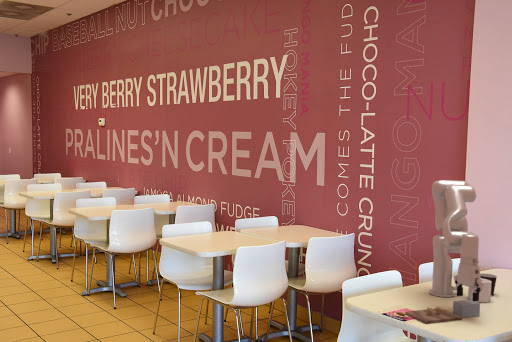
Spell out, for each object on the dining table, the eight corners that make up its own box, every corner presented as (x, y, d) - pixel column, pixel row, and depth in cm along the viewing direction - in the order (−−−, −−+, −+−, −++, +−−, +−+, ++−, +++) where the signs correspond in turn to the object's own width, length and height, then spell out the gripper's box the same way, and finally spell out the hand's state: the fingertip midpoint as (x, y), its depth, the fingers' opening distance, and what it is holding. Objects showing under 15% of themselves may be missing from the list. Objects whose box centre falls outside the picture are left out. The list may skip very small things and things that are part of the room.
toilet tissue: (487, 297, 272) (488, 278, 272) (493, 304, 260) (494, 284, 260) (466, 295, 274) (467, 276, 274) (470, 302, 263) (471, 282, 262)
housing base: (440, 310, 247) (440, 301, 246) (462, 319, 234) (462, 310, 233) (405, 314, 239) (405, 305, 239) (425, 324, 226) (426, 314, 226)
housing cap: (469, 312, 246) (470, 299, 245) (479, 316, 240) (480, 303, 240) (452, 314, 242) (453, 301, 242) (462, 318, 236) (463, 305, 236)
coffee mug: (496, 297, 274) (497, 278, 274) (478, 295, 277) (479, 276, 276) (494, 291, 285) (495, 273, 285) (477, 289, 288) (478, 271, 287)
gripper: (490, 264, 233) (488, 302, 233) (461, 257, 249) (460, 293, 249) (477, 265, 230) (475, 303, 230) (448, 258, 246) (447, 294, 246)
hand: (467, 298), depth 240 cm, fingers open, 9 cm apart
